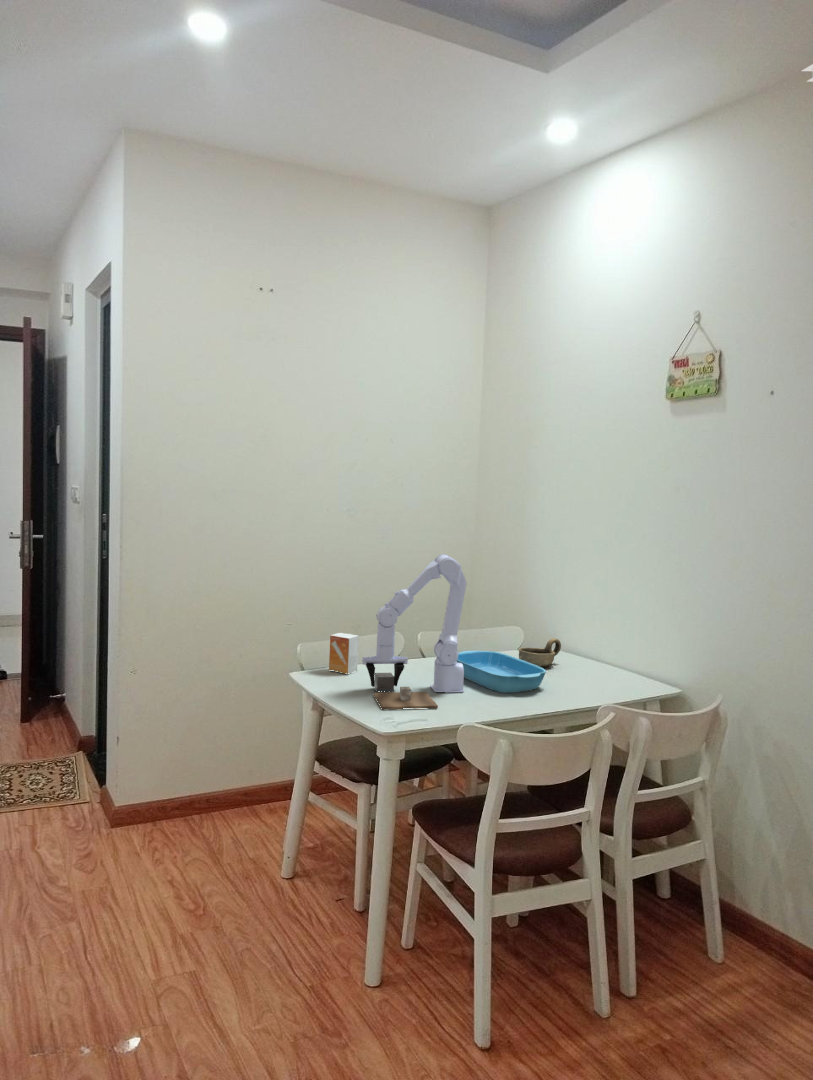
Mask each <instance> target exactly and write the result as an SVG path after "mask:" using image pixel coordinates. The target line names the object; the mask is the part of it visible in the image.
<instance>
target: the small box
mask: <svg viewBox="0 0 813 1080" xmlns="http://www.w3.org/2000/svg"><path fill="white" fill-rule="evenodd" d="M359 636H360V635H356V634H352V633H345V632H337V633H334V634H333V633H332V634H330V638H329V639H330V640H329V658H328V659H329V660H328V671H329V670H334V671H338V672H342V673H347V674H348V673H352V672H354V671H357V672H358V664H359V662H358V661H359V640H360V639H359V638H360V637H359ZM352 674H353V673H352Z"/></svg>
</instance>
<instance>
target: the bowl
mask: <svg viewBox="0 0 813 1080" xmlns="http://www.w3.org/2000/svg"><path fill="white" fill-rule="evenodd" d="M554 643H555V645H554ZM553 645H554V648H553V649H552V646H553ZM561 647H562V643H561V641H560V640H559V639H558V638H554V637H553V638H550V639H548V641H547V643H546V645H545V647H543V648H542V647H541V648H540V647H539V648H538V647H519V648H518V659H521V660H523V661H526V662H529V663H531V664H534V665H537V666H539V667H547V666H549V665H551V664H552V663H554V661H555V657H556V656H557V655H559V653H560V651H561V649H562V648H561Z"/></svg>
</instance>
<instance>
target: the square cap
mask: <svg viewBox="0 0 813 1080" xmlns="http://www.w3.org/2000/svg"><path fill="white" fill-rule="evenodd" d="M374 687H375V688H374ZM374 687H373V688H374V690H375V689H376V690H377V692H378V691H380V692H378V693H392V691H393V692H395V686H394V675H393V673H392V672H375V675H374ZM376 690H375V691H376ZM381 691H382V692H381ZM384 691H385V692H384ZM389 691H390V692H389ZM377 692H376V693H377Z"/></svg>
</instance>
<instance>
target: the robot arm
mask: <svg viewBox="0 0 813 1080" xmlns="http://www.w3.org/2000/svg"><path fill="white" fill-rule="evenodd" d="M441 575H442V576H443V577H444V579H445V581H447V582H448V584H449V586H450V587H449V591H448V597H447V603H446V608H445V613H444V618H443V624H442V629H441V633H440V634H439V636H438V639H437V642H436V643H435V645H434V646H433V647H434V648H433V653H434V654H435V656H436V658H435V660H434V668H433V669H434V671H433V684H430V685H429V687H430V688H431V689H432V690H433V692H435V693H436V692H445V693H464V681H465V680H464V679H465V678H464V668H463V665H462V663H457V659H458V653H459V650H458V632H459V628H460V627H459V625H460V621H461V616H462V610H463V606H464V600H465V593H466V587H467V580H466V579H467V578H466V577H465V574H464V572H463V569H462V566H461V564H460V563H459V562H458V561H457V560H456V559H455V558H454V557H450V555H447V554H439V555H438V556H436V557H435V559H434V560H432V561H430V562H429V563H428V565H427V566H425V568H424V569H423V570H421V572H420V574H418V575H417V577H416V578H415V579H414V580H413V581H412V582H411V583H410V585H409V586H408V587H407V588H405V589H400V590H396V591H395V592H394V593H393V594H394V596H393V597H392V598H391V599H390V600H389V601H388V602H385V603H384V604H383V605H384V606H383V607H382V606H381V608H379V609H378V611H377V614H376V615H375V616H376V620H377V621H378V622H377V630H376V631H377V632H376V633H377V634H376V656H366V657H362V661H361V663H362V665H365V668H367V673H368V674H369V679H370V685H371V687H372V688H374V680H375V673H376V667H375V665H387V664H389V665H394V666H393V669H394V672H393V673H394V675H393V676H394V687H397V686H398V683H399V679H400V678H401V677H400V676H401V674H402V673H403V671H404V669H405V665H408V662H409V661H408V659H409V658H408V657H407V656H395V643H396V642H395V639H396V638H395V636H396V630H395V627H396V626H395V625H396V623H397V622H398V617H400V616H401V615H403V613H404V612H405V611H406V610H407V609H408V608H410V606H412V604H413V603H414V597H415V595H417V594H418V593H419V592H420V591H421V590H422V589H423V588H424V587H425V586H426V585H427V584H429V582H431V581H432V580H437V579H441V578H442V576H441Z"/></svg>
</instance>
